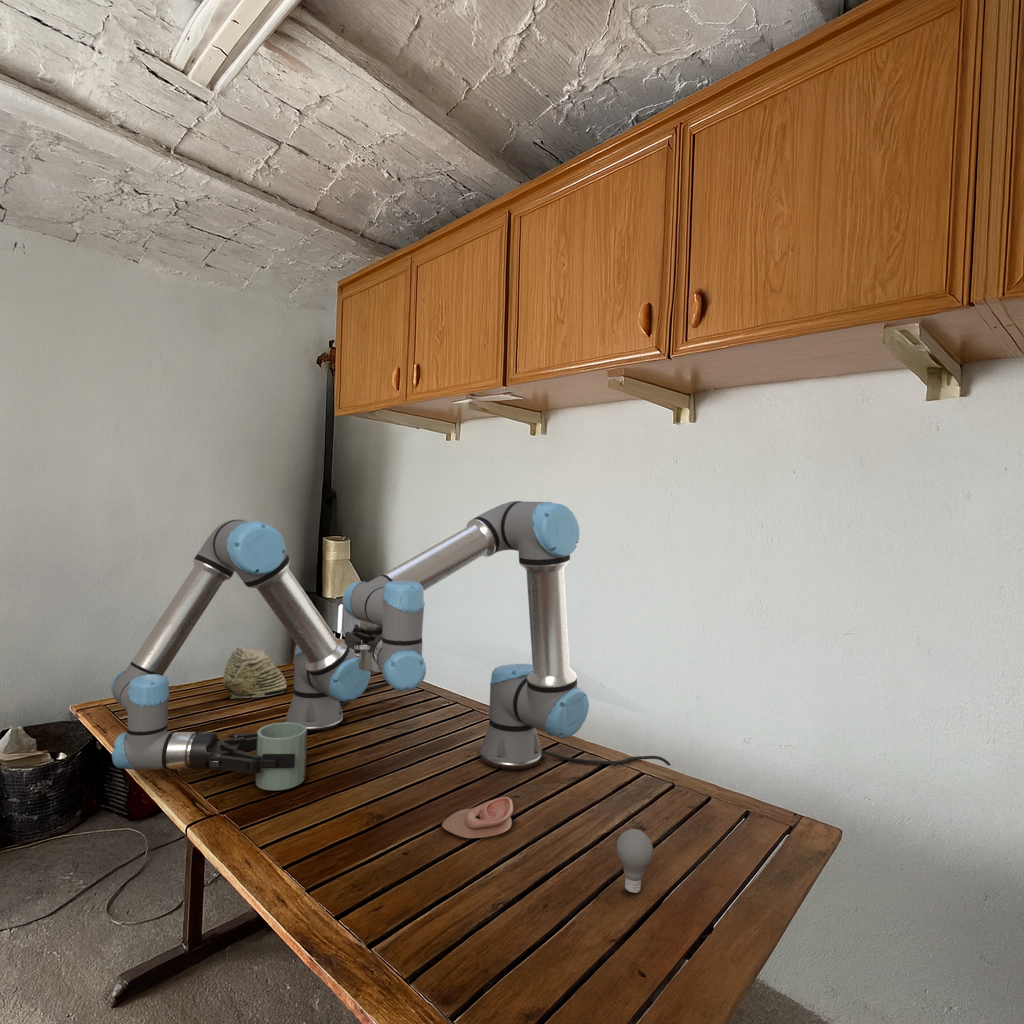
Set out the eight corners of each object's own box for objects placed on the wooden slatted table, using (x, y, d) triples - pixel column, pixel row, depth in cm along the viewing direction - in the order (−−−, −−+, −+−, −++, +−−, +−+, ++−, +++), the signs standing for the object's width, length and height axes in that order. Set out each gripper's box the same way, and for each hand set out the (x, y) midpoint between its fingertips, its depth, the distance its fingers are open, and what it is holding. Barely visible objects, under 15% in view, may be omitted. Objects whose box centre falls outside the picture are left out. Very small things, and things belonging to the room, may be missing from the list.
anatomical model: (437, 813, 121) (454, 787, 132) (436, 833, 121) (454, 805, 132) (505, 823, 118) (517, 795, 129) (504, 844, 118) (516, 815, 129)
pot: (288, 766, 146) (290, 718, 146) (313, 779, 140) (316, 730, 140) (246, 780, 138) (248, 730, 138) (271, 795, 132) (273, 742, 132)
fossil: (218, 695, 195) (220, 647, 195) (278, 685, 208) (279, 640, 207) (228, 703, 189) (230, 653, 188) (289, 692, 201) (290, 645, 201)
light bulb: (610, 879, 108) (613, 822, 108) (644, 879, 109) (647, 822, 109) (619, 902, 102) (622, 840, 102) (655, 901, 103) (658, 840, 103)
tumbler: (379, 660, 151) (381, 610, 151) (402, 667, 146) (404, 615, 146) (351, 666, 145) (353, 613, 145) (374, 674, 140) (376, 619, 140)
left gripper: (212, 747, 148) (309, 747, 151) (171, 792, 126) (286, 791, 128) (213, 715, 148) (311, 716, 151) (172, 754, 125) (288, 754, 128)
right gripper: (337, 674, 125) (328, 647, 146) (442, 668, 132) (418, 643, 154) (339, 636, 125) (329, 615, 146) (443, 632, 132) (420, 612, 153)
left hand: (300, 750), depth 139 cm, fingers closed on pot, 10 cm apart
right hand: (375, 629), depth 150 cm, fingers closed on tumbler, 8 cm apart
